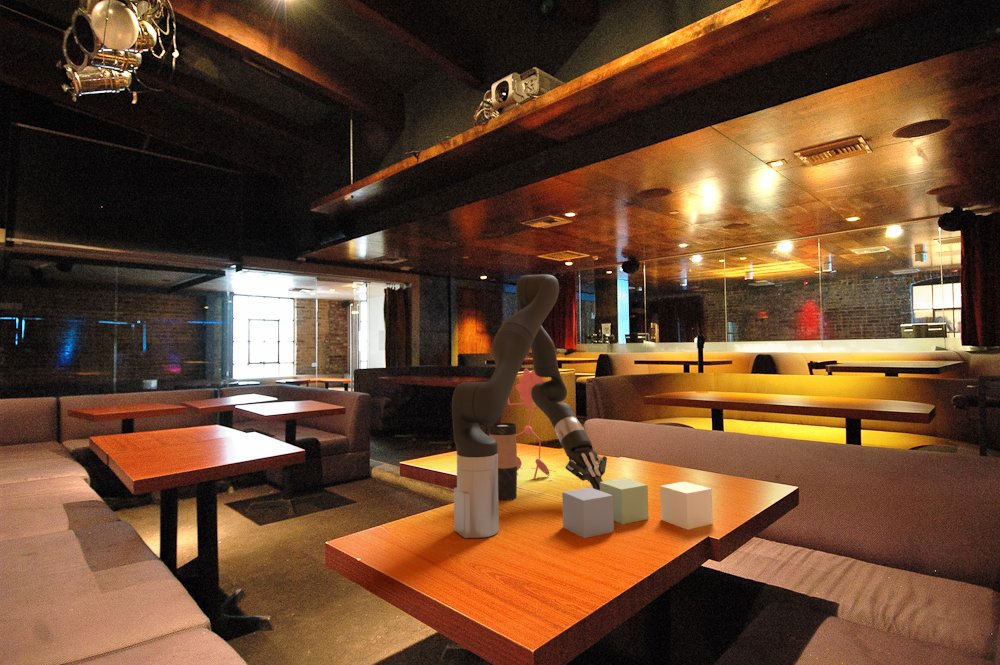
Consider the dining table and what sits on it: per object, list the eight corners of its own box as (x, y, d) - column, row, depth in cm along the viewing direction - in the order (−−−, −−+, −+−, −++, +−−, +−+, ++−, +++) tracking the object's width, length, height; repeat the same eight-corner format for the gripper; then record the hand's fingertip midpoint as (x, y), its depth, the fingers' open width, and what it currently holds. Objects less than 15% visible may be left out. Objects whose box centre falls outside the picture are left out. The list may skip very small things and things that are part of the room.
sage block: (622, 524, 118) (621, 489, 119) (600, 515, 125) (599, 482, 126) (648, 519, 122) (647, 484, 122) (625, 510, 129) (624, 478, 129)
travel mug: (521, 498, 140) (520, 425, 141) (495, 502, 137) (494, 427, 138) (511, 492, 147) (509, 422, 148) (486, 495, 145) (485, 423, 145)
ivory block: (687, 529, 114) (686, 493, 114) (661, 520, 121) (660, 485, 121) (712, 524, 118) (711, 488, 118) (685, 514, 125) (684, 481, 125)
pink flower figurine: (555, 483, 156) (554, 368, 159) (489, 473, 172) (489, 368, 174) (580, 475, 168) (578, 368, 171) (516, 466, 184) (516, 368, 186)
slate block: (584, 538, 110) (583, 500, 110) (563, 527, 117) (562, 492, 117) (613, 532, 113) (612, 495, 114) (591, 522, 120) (590, 487, 121)
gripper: (557, 430, 137) (586, 487, 126) (597, 426, 143) (628, 480, 132) (547, 447, 142) (574, 503, 130) (586, 443, 148) (615, 496, 137)
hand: (601, 491), depth 131 cm, fingers closed
